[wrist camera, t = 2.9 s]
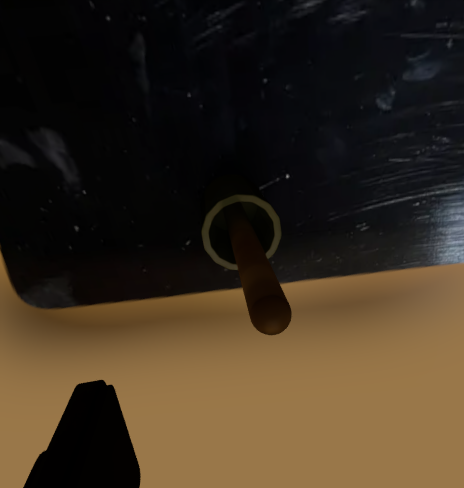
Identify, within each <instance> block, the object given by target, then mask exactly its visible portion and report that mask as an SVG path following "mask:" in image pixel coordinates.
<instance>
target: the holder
mask: <svg viewBox="0 0 464 488" xmlns="http://www.w3.org/2000/svg"><path fill="white" fill-rule="evenodd" d="M235 202H241V203H242V206H243V208H244V210H245V212H246V214H247V216H248V218H249V220H250V222H251V225H252V227H253V229H254V231H255V233H256V235H257V237H258V239H259V242H260V244H261V246H262V248H263V250H264V252H265V254H266V256H267V259H269V258H270V257H271V256H272V255H273V254H274V253H275V251H276V250H277V247H278V244H279V241H280V238H281V226H280V219H279V217H278V215H277V214H276V212H275V211H274V209H273V208H272V206H271V205H270V203H269V202H268V201H267V199H266V198H265V197H264V196H263V194H262V193H261V192H260V190H259V189H258V188H257V187H256V185H255V184H254V183H253V182H251V181H250V180H249V179H247V178H245V177H243V176H240V175H235V174H229V175H223V176H221V177H218V178H216V179H215V180H213V181H212V182H211V183H210V184H209V185H208V186H207V187H206V189H205V191H204V193H203V196H202V200H201V205H200V206H201V234H202V239H203V244H204V248H205V250H206V251H207V253H208V254H209V255H210V257H211V258H212V259H213V261H214V262H215V263H217V264H219V265H221V266H223V267H225V268H227V269H230V270H238V268H237V264H236V260H235V256H234V252H233V248H232V244H231V240H230V236H229V232H228V228H227V224H226V220H225V216H224V213H223V207H225V206H227V205H230V204H232V203H235Z"/></svg>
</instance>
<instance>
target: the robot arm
mask: <svg viewBox="0 0 464 488" xmlns="http://www.w3.org/2000/svg"><path fill="white" fill-rule="evenodd" d="M139 487H140V468H139V464H138V461H137V458H136V455H135V452H134V448H133V445H132V442H131V439H130V436H129V433H128V430H127V426H126V423H125V420H124V417H123V414H122V411H121V408H120V404H119V401H118V398H117V395H116V392H115V389H114V387H113V385H106V383H105V382H104V380H98V381H93V382H87V383H81V384H78V385H77V386H76V387H75V389H74V391H73V393H72V396H71V398H70V400H69V402H68V405H67V407H66V409H65V411H64V413H63V415H62V418H61V420H60V422H59V424H58V426H57V428H56V431H55V433H54V435H53V437H52V439H51V442H50V444H49V446H48V448H47V450H46V451H44V452H42V453H41V454H40V455H39V457H38V458H37V460H36V462H35V464H34V466H33V468H32V470H31V472H30V474H29V476H28V479H27V481H26V483H25V485H24V487H23V488H139Z"/></svg>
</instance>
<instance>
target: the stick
mask: <svg viewBox="0 0 464 488" xmlns="http://www.w3.org/2000/svg"><path fill="white" fill-rule="evenodd" d="M223 213H224V216H225V220H226V224H227V228H228V232H229V236H230V240H231V244H232V248H233V252H234V256H235V260H236V264H237V268H238V272H239V276H240V279H241V283H242V287H243V291H244V295H245V299H246V303H247V307H248V311H249V315H250V319H251V322H252V324H253V325H254V327H255V328H256V329H257V330H258V331H260V332H261V333H264V334H267V335H276V334H279V333H281V332H282V331H284V330H285V329H286V328H287V327H288V325H289V323H290V321H291V308H290V305H289V303H288V301H287V299H286V297H285V295H284V292H283V290H282V288H281V286H280V284H279V282H278V280H277V278H276V275H275V273H274V271H273V269H272V267H271V265H270V263H269V261H268V259H267V256H266V254H265V252H264V250H263V248H262V246H261V244H260V242H259V239H258V237H257V235H256V233H255V231H254V229H253V227H252V225H251V222H250V220H249V218H248V216H247V214H246V212H245V210H244V208H243V206H242V203H241V202H235V203H232V204H230V205H227V206H225V207H223Z"/></svg>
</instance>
